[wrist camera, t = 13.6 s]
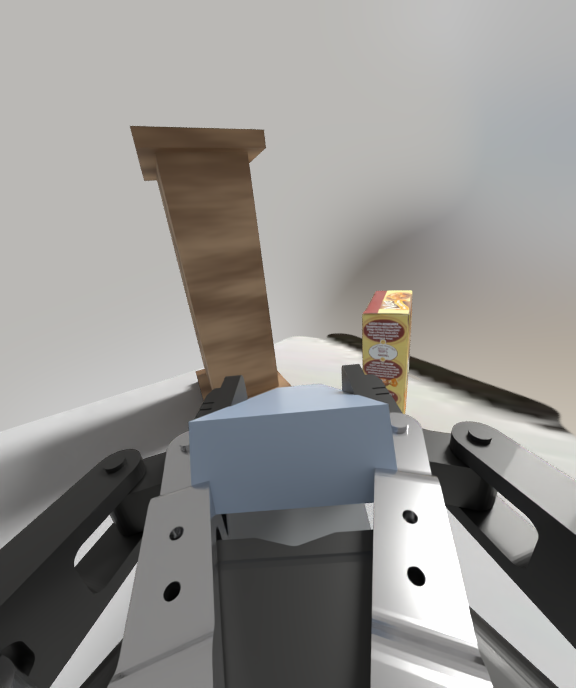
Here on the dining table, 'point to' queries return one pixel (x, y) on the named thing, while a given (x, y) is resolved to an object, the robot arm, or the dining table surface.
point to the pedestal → (216, 246)
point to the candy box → (388, 341)
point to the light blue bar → (292, 450)
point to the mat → (298, 523)
